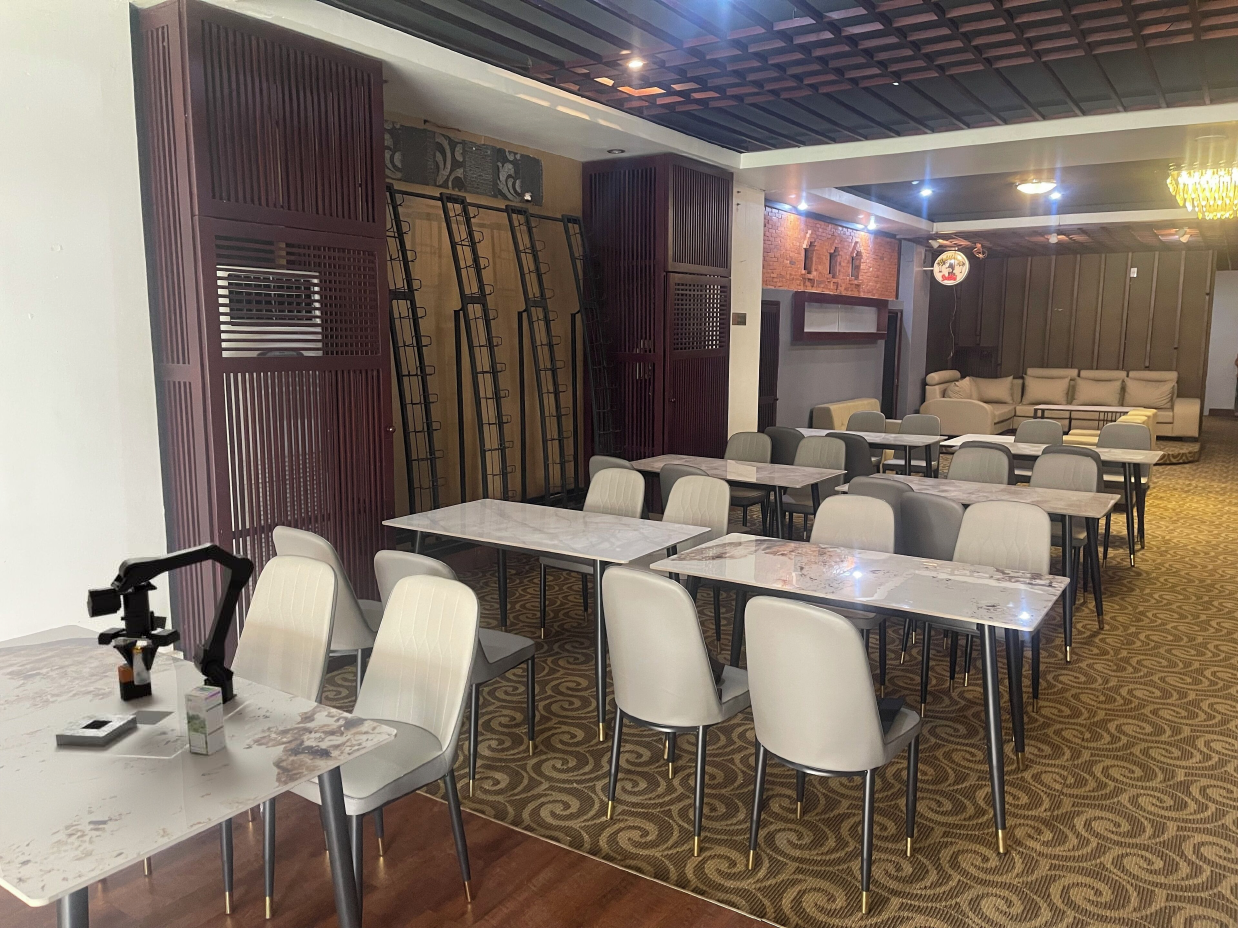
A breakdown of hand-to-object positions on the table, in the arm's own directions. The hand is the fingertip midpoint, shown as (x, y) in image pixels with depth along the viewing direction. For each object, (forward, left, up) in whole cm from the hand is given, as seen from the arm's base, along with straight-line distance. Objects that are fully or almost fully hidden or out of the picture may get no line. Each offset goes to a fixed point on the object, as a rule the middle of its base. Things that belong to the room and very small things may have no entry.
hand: (141, 669), depth 226 cm
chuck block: (+5, +11, -13) cm, 18 cm away
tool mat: (0, 0, -13) cm, 13 cm away
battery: (+12, -13, -13) cm, 22 cm away
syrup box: (-26, +15, -13) cm, 33 cm away
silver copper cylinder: (0, 0, -3) cm, 3 cm away
